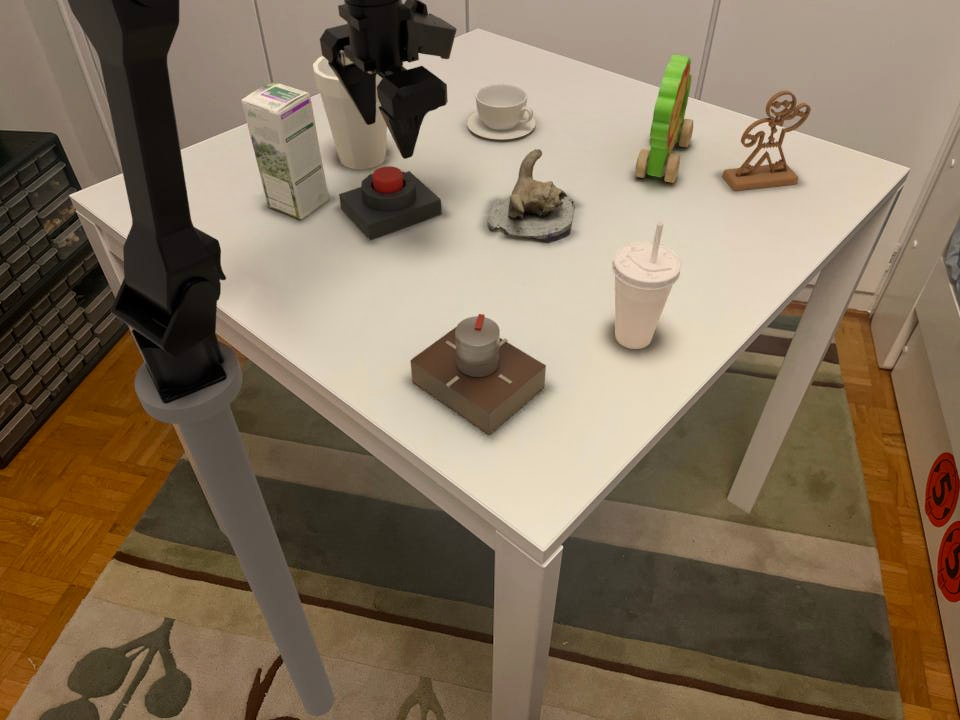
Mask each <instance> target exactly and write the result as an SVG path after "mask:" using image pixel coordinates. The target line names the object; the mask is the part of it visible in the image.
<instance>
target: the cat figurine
mask: <svg viewBox="0 0 960 720" xmlns="http://www.w3.org/2000/svg"><path fill="white" fill-rule="evenodd" d="M542 156H543V151H542V150H541V149H539V148H538V149H533V150H532V151H530V152H529V153H527V154H526V155H525V157H524V158H523V160H522V161H521V163H520V166H519V172H518V176H517V177H518V178H517V181H516V183H515V184H514V187H513V189H512V192H511V194H510V196H509V199H508V200H505V202H504V203H501V204H500V201H501V200H500V199H498V200H495V201H494V202H493V204H492V206H491V211H490V213H489V216H488V220H487V227H488V229H489V230H490V231H494V230H495V229H496V228H497V229H499V228H502V229H503V230H505V231H506V232H504V233H503V235H504V236H507V237H511V236H512V237H515V236H517V237H518V236H519V237H521V238H522V237H525V238H531V237H532V238H535V239H539V240H544V241H545V242H546V243H548V244H549V243H552V242H556V241H558V240H559V239H562V238H564V237H567V236H568V235H569V234H571V230H572V229H571V228H572V223H573V217H574V216H573V215H574V210H575V201H574V200H572V199H569V198H568V195H567V193H566V192H565V191H564V190H563V189H561V188H558V187H557V186H556V185H555V184H554V182H553V181H552V180H549V181H545V182H542V181H539V180H536V179H534V177H533V172H534V167H535V165H536V163H537V161H538V160H540V158H542Z"/></svg>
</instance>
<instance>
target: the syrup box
mask: <svg viewBox="0 0 960 720" xmlns="http://www.w3.org/2000/svg"><path fill="white" fill-rule="evenodd" d="M240 100H241V105H242V108H243V112H244V117H245V120H246V125H247V129H248V132H249V136H250V140H251V144H252V147H253V152H254V156H255V161H256V163H257V169H258V172H259V176H260V179H261V184H262V188H263V191H264V195H265V200H266V203H267V207H268V208H271V209H273V210H275V211H278V212H281V213H283V214H285V215H288V216H290V217H293V218H295V219H298V220H303V219H304V218H306V217H308V216H309V215H310V214H312V213H313V212H315V211H317V210H318V209H319V208H320V207H322V206H323V205H324V204H326V203H327V202H328V201H329V200H330V194H329V190H328V185H327V180H326V175H325V169H324V165H323V159H322V158H323V157H322V154H321V153H322V152H321V147H320V143H319V136H318V130H317V124H316V120H315V114H314V109H313V103H312V98H311V94H310V92H308V91H304V90H301V89H298V88H295V87H292V86H288V85H285V84H282V83H279V82H275V81H273V82H270V83H268V84H266V85H263V86H262V87H259V88H258V89H256V90H254V91H252V92H251V93H249V94H247V96H244V97H243V98H241V99H240Z"/></svg>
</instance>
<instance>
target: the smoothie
mask: <svg viewBox="0 0 960 720" xmlns="http://www.w3.org/2000/svg"><path fill="white" fill-rule="evenodd" d="M663 228H664V223H663V222H662V221H658V222H657V223H656V227H655V232H654V238H653V242H650V241H636V242H630V243H627V244H624V245H622V246H621V247H619V248H618V249H617V250H616V251H615V253H614V254H613V259H612V261H611V271H612V272H613V275H614V337H615V341H617V343H618V344H619V345H621V346H622V347H623V348H627V349H630V350H641V349H644V348H646V347H648V346H649V345H650V344H651V342H652V339H653V337H654V335H655V331H656V329H657V326H658V325H659V321H660V319H661V316H662V314H663V311H664V309H665V307H666V303H667V300H668V298H669V296H670V294H671V291H672V289H673V285H674V284H676V283H677V281H678V280H679V278H680V275H681V270H682V262H681V258H680V257H679V256H678V254H677V253H675V251H673V250H672V249H670V248H668V247H667V246H664V245H662V244H661V238H662V234H663Z"/></svg>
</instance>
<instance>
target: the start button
mask: <svg viewBox="0 0 960 720" xmlns="http://www.w3.org/2000/svg"><path fill="white" fill-rule="evenodd" d="M402 171H403V170H401V169H400V168H398V167H396V166H392V165H390V166H380V167H379V168H376V169H375V170H373V172H372V173H373V174H372V173H371V174H372V178H373V186H374V189H375V191H376V192H380V193H394V192H397V191H400V190H401V189H402V188H403V176H402Z"/></svg>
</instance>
